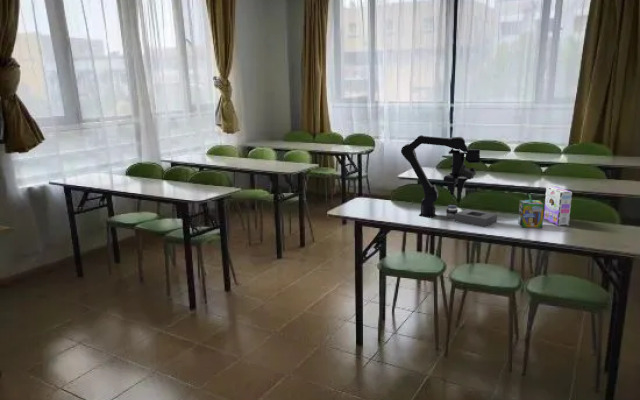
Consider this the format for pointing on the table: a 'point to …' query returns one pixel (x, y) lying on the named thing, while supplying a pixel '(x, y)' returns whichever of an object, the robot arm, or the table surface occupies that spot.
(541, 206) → the chalk box
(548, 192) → the candy box
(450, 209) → the lens
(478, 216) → the camera body
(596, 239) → the table surface
